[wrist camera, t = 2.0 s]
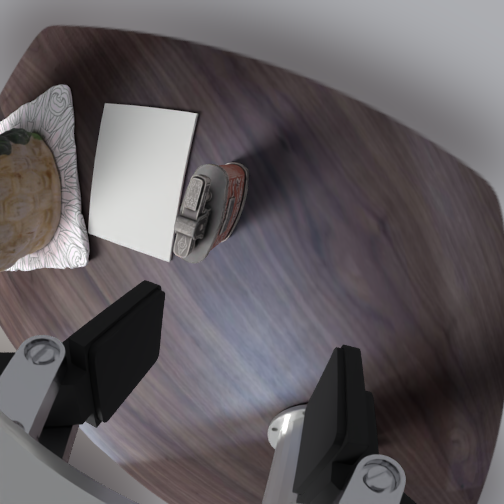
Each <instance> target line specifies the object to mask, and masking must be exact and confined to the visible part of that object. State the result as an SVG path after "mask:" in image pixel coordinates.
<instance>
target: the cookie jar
mask: <svg viewBox="0 0 504 504" xmlns="http://www.w3.org/2000/svg"><path fill="white" fill-rule="evenodd" d="M89 252H90V249H89V240H88V233H87V229H86V225H85V222H84V218H83V214H82V206H81V193H80V187H79V179H78V172H77V156H76V145H75V139H74V110H73V102H72V94H71V89H70V88H69V87H68V86H67V85H63V84H59V85H57V86H53V87H51V88H50V89H48V90H47V91H46V92H45V93H43V95H40V96H38V97H37V98H36V99H35V100H34V101H31V102H30V103H26V104H24V105H22V106H20V107H19V108H18V110H16V111H15V112H13V113H11V114H10V115H9V117H7V118H6V119H4V120H2V121H1V122H0V272H2V271H7V270H10V271H17V270H22V271H29V270H34V269H37V268H40V269H41V268H43V267H47V268H54V269H55V268H61V269H64V268H66V267H69V268H70V269H73V268H75V267H76V268H77V267H83V266H86V265H87V264H88V262H89V261H88V257H89Z"/></svg>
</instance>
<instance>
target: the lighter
mask: <svg viewBox="0 0 504 504" xmlns="http://www.w3.org/2000/svg"><path fill="white" fill-rule="evenodd" d="M248 183H249V171H248V169H247V168H246V167H245V166H244V165H243V164H241V163H236V162H232V163H228V164H226V165H219V166H218V165H215V164H206V165H202V166H200V167H199V168H197V170H196V171H195V173H194V175H193V177H192V178H191V180H190V183H189V185H188V187H187V190H186V192H185V196H184V199H183V202H182V205H181V208H180V213H179V215H178V216H177V218H176V220H175V224H174V230H175V233H177V235H176V240H175V244H174V250H173V251H174V253H175V255H177V256H179V257H181V258H182V259H183V260H185V261H187V262H189V263H199V262H201V261H202V260H204V259H205V258H206V257H207V255H208V254H209V252H210V250H212V249H213V248H214V247H215V246H216V245H218V244H219V243H220V242H223V241H225V240H227V239H228V238H229V237H230V236H231V234H232V232H233V230H234V229H235V227H236V225H237V223H238V221H239V218H240V216H241V213H242V211H243V208H244V204H245V200H246V196H247V191H248Z"/></svg>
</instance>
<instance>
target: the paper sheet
mask: <svg viewBox="0 0 504 504" xmlns="http://www.w3.org/2000/svg"><path fill="white" fill-rule="evenodd" d="M197 118H198V114H197V113H190V112H184V111H177V110H169V109H161V108H153V107H144V106H133V105H122V104H109V103H105V106H104V110H103V115H102V120H101V126H100V131H99V137H98V143H97V149H96V156H95V163H94V171H93V179H92V188H91V198H90V210H89V224H88V233H89V234H92V235H95V236H97V237H100V238H103V239H105V240H108V241H111V242H114V243H117V244H119V245H122V246H125V247H128V248H131V249H133V250H136V251H139V252H142V253H145V254H148V255H151V256H153V257H156V258H159V259H162V260H165V261H168V262H170V261H171V256H172V249H173V242H174V236H175V230H174V224H175V220H176V218H177V216H178V212H179V206H180V200H181V195H182V189H183V184H184V179H185V174H186V169H187V164H188V159H189V154H190V149H191V145H192V140H193V135H194V131H195V126H196V122H197Z"/></svg>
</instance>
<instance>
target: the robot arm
mask: <svg viewBox="0 0 504 504" xmlns="http://www.w3.org/2000/svg"><path fill="white" fill-rule="evenodd" d="M164 300H165V292H164V291H161V286H160V285H157V284H154V283H152V282H149V281H146V280H145V281H143V282H141V283H140V284H139V285H137V286H136V287H134V288H133V289H132V290H130V291H129V292H128V293H126V294H125V295H124V296H122V297H121V298H120V299H118V300H117V301H116V302H114V303H113V304H112V305H110V306H109V307H108V308H106V309H105V310H104V311H102V312H101V313H100V314H98V315H97V316H96V317H94V318H93V319H92V320H91V321H89V322H88V323H87V324H85V325H84V326H83V327H81V328H80V329H79V330H78V331H76V332H75V333H74V334H72V335H71V336H70V337H69V338H68V339H66V340H65V341H64V342H61V341H59V340H58V339H57V338H54V337H52V336H47V335H37V336H33V337H30V338H29V339H27V340H25V341H24V342H23V343H22V344H21V346H20V347H19V349H18V350H17V352H15V353H0V504H139V503H137V502H135V501H133V500H131V499H129V498H127V497H125V496H123V495H121V494H119V493H117V492H115V491H113V490H111V489H110V488H108V487H106V486H104V485H102V484H101V483H99V482H97V481H95V480H94V479H92V478H90V477H89V476H87V475H85V474H84V473H82V472H80V471H79V470H77V469H76V468H74V467H73V466H71V465H70V464H68V461H69V457H70V454H71V450H72V447H73V443H74V440H75V437H76V433H77V430H78V427H79V424H83V423H84V422H85V421H86V422H87V423H89V424H91V425H92V426H94V427H96V428H97V427H98V425H99V424H100V423H101V422H102V421H103V422H104V423H105V422H107V421H108V420H109V419H110V418H111V417H112V415H113V414H114V413H115V412H116V410H117V409H118V408H119V407H120V405H121V404H122V403H123V402H124V400H125V399H126V398H127V397H128V396H129V394H130V393H131V392H132V391H133V389H134V388H135V387H136V386H137V384H138V383H139V382H140V381H141V379H142V378H143V377H144V376H145V374H146V373H147V372H148V371H149V370H150V368H151V367H152V366H153V365H154V363H155V362H156V361H157V359H158V356H159V350H160V339H161V328H162V318H163V309H164ZM268 439H269V442H270V444H271V446H272V447H273V448H274V449H275V453H274V458H273V462H272V466H271V470H270V474H269V478H268V482H267V486H266V490H265V494H264V497H263V501H262V504H416V503H415V502H414V501H413V500H412V499H411V498H410V497H408V496H407V495H406V494H405V493H404V492H403V490H404V487H405V481H406V477H405V473H404V471H403V469H402V467H401V466H400V465H399V464H398V463H397V462H396V461H395V460H393V459H392V458H390V457H388V456H384V455H379V451H378V439H377V428H376V418H375V409H374V400H373V395H372V393H371V392H368V391H365V385H364V376H363V367H362V359H361V351H360V349H359V348H355V347H351V346H347V345H342V347H341V348H337V347H336V348H335V349H334V351H333V353H332V355H331V358H330V360H329V362H328V364H327V366H326V368H325V370H324V372H323V374H322V376H321V378H320V380H319V382H318V384H317V386H316V388H315V390H314V392H313V394H312V396H311V398H310V400H309V402H308V404H306V405H299V406H295V407H291V408H289V409H286V410H284V411H282V412H281V413H279V414H278V415H276V416H275V417H274V419H273V420H272V421H271V423H270V425H269V429H268Z"/></svg>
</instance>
